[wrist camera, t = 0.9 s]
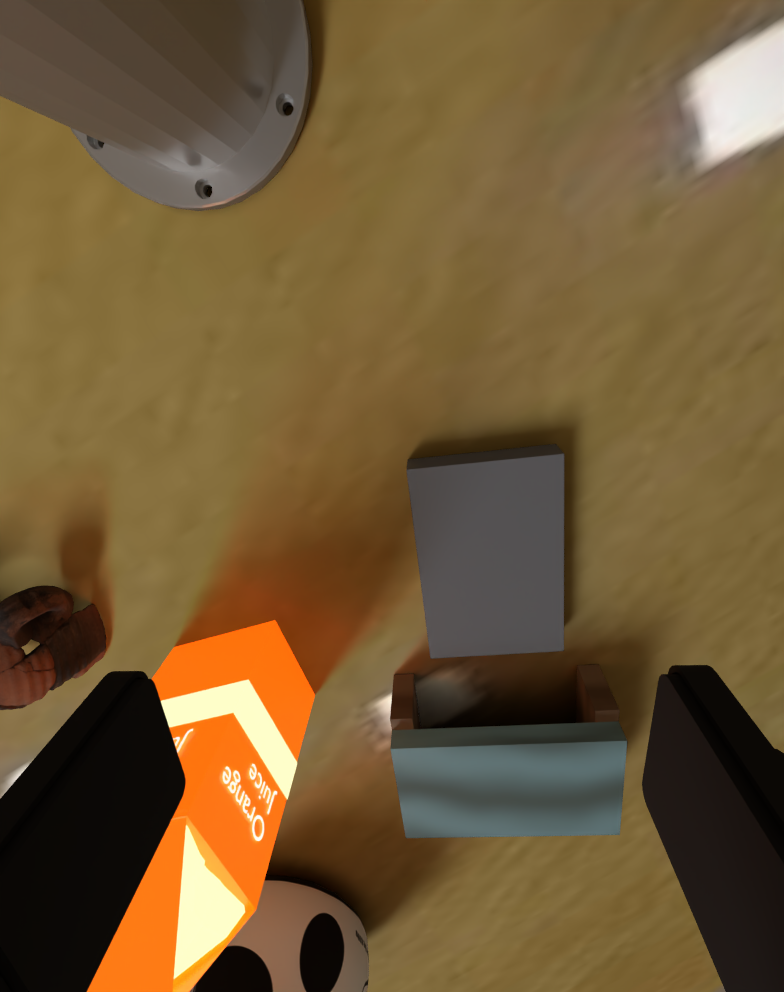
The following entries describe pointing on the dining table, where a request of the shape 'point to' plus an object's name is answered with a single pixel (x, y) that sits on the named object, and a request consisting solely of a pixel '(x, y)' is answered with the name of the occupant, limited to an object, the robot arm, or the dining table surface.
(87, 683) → the dining table surface
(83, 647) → the pottery mug
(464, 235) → the dining table surface
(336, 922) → the milk container
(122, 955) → the orange juice
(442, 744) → the shelf dock
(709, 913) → the robot arm
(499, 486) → the slate tile
